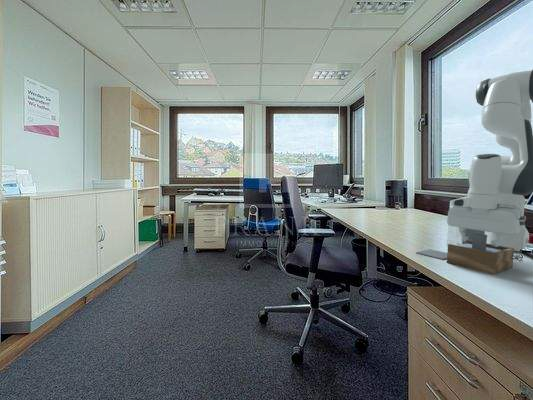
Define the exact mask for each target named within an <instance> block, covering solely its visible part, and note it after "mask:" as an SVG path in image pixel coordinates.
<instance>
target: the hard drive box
mask: <svg viewBox="0 0 533 400" xmlns="http://www.w3.org/2000/svg"><path fill="white" fill-rule="evenodd" d="M452 200H453V199H452ZM452 200H450V201H449V209H450V208H451V207H453V206H452V205H451V201H452ZM464 232H465V234H466V236H469V238H468V239H469V240H470V241H473V234H476V233H479V234H485V231H480V230H473V229H467V228H466V230H465V231H464ZM446 235H447V237H446V246H447V247H448V244H453V245H462V244H466V241H462V236H461V234H460V232H459V227H454V226H449V225H447V234H446Z"/></svg>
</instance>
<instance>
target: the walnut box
mask: <svg viewBox="0 0 533 400" xmlns="http://www.w3.org/2000/svg"><path fill="white" fill-rule="evenodd" d="M466 244H472V241H470V240H468V241H466ZM486 247H488V248H494V249H499V250H501V251H498V252H494V253H493V252H488V251H483V250H478V249H473V248H468V247H463V246H458V245H453V244H448V246H447V252H446V253H447V259H446V264H451V265H455V266H459V267H463V268H467V269H470V270H474V271H478V272H482V273H487V274H491V275H497V274H499V273H502V272H505V271H508V270H509V269H513V266H514V265H513V264H514V255H515V251H514V248H509V247H503V246H498V247H494V246H491V244H486Z"/></svg>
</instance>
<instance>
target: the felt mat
mask: <svg viewBox="0 0 533 400" xmlns="http://www.w3.org/2000/svg"><path fill="white" fill-rule="evenodd" d="M415 254H418V255H422V256H425V257H429V258H433V259H437V260H442V261H444V260H447V252H446V251H442V250H441V251H440V250H437V249H436V250H435V249H430V248H429V249H425V250H421V251H417V252H415Z"/></svg>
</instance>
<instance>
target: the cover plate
mask: <svg viewBox="0 0 533 400" xmlns="http://www.w3.org/2000/svg"><path fill="white" fill-rule="evenodd" d="M486 243H487V235H485V234H479V233H476V234H473V241H472V244H462V245H458V246H463V247H468V248H473V249H478V250H483V251H488V252H493V253H494V252H498V251H501V250H499V249H494V248H488V247H486Z"/></svg>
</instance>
